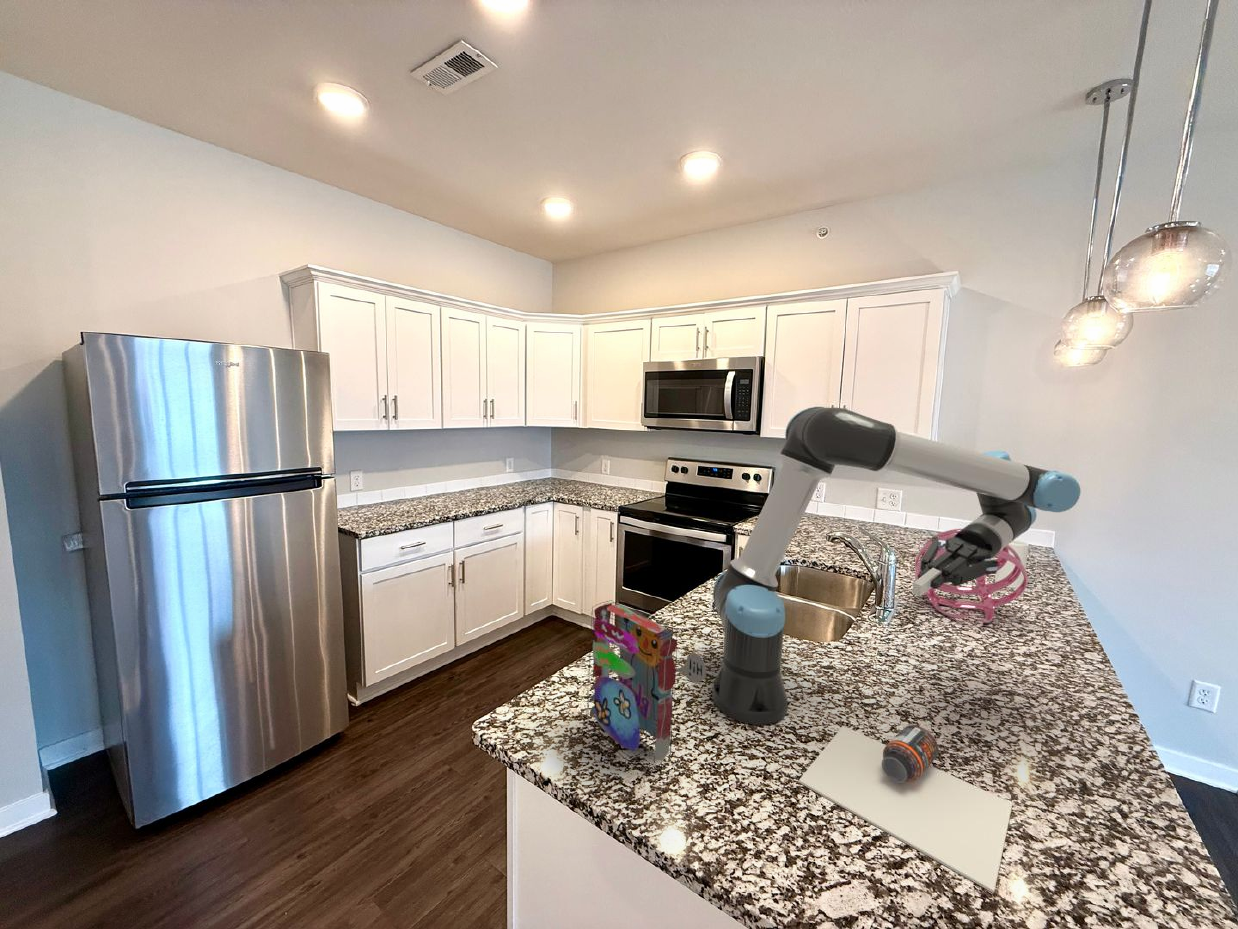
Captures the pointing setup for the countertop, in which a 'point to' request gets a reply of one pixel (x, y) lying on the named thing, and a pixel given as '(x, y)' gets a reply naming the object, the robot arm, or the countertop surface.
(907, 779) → the supplement bottle
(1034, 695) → the countertop surface
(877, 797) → the mat
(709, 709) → the countertop surface
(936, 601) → the spiral basket
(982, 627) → the countertop surface
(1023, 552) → the cup
